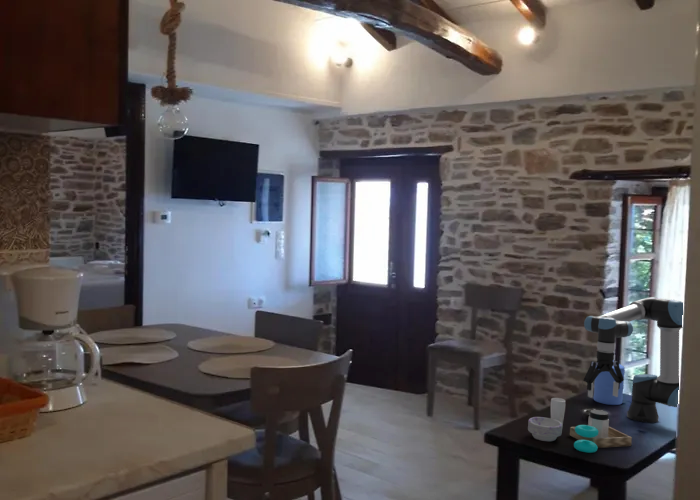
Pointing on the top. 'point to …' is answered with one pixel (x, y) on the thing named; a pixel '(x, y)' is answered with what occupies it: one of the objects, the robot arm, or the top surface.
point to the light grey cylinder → (557, 409)
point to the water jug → (608, 388)
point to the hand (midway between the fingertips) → (602, 396)
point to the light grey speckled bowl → (544, 428)
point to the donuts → (586, 444)
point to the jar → (599, 422)
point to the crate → (613, 438)
